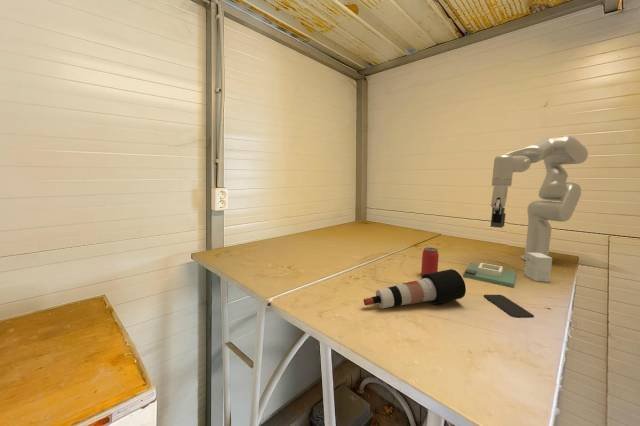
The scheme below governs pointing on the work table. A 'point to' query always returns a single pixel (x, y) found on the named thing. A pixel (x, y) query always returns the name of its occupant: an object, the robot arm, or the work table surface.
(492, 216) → the plug
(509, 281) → the circuit board
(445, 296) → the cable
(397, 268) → the work table surface
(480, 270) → the header socket
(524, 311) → the phone
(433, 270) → the beer can
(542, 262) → the small box
